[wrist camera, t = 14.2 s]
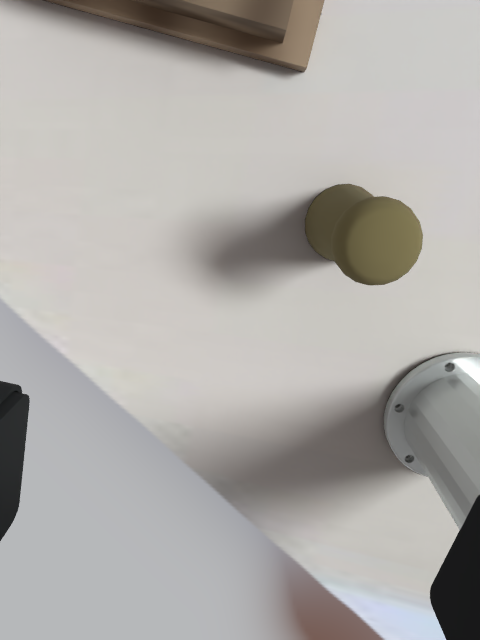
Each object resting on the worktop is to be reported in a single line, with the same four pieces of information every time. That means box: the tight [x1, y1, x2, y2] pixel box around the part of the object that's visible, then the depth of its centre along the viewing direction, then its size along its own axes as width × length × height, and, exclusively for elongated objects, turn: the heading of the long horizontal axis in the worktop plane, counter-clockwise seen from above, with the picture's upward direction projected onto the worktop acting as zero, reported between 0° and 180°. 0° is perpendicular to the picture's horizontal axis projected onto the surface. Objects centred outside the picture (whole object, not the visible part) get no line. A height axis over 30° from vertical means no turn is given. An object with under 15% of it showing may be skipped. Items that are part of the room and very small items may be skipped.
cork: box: [305, 184, 423, 285], centre depth 30 cm, size 6×6×11 cm
